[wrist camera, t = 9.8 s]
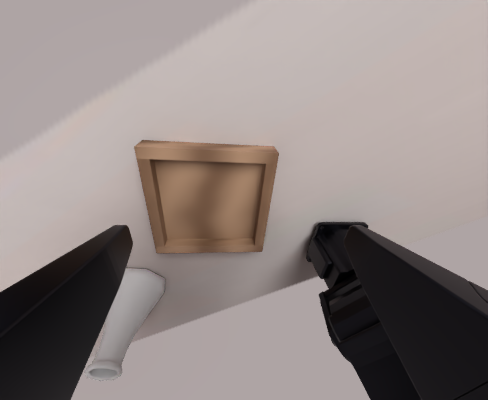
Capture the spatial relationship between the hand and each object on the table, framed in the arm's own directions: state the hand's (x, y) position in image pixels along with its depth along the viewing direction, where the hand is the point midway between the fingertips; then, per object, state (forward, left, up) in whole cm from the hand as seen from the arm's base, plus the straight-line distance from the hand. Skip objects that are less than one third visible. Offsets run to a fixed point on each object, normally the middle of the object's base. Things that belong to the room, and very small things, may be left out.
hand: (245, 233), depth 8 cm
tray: (+2, +6, -12) cm, 14 cm away
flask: (+12, +20, -13) cm, 27 cm away
